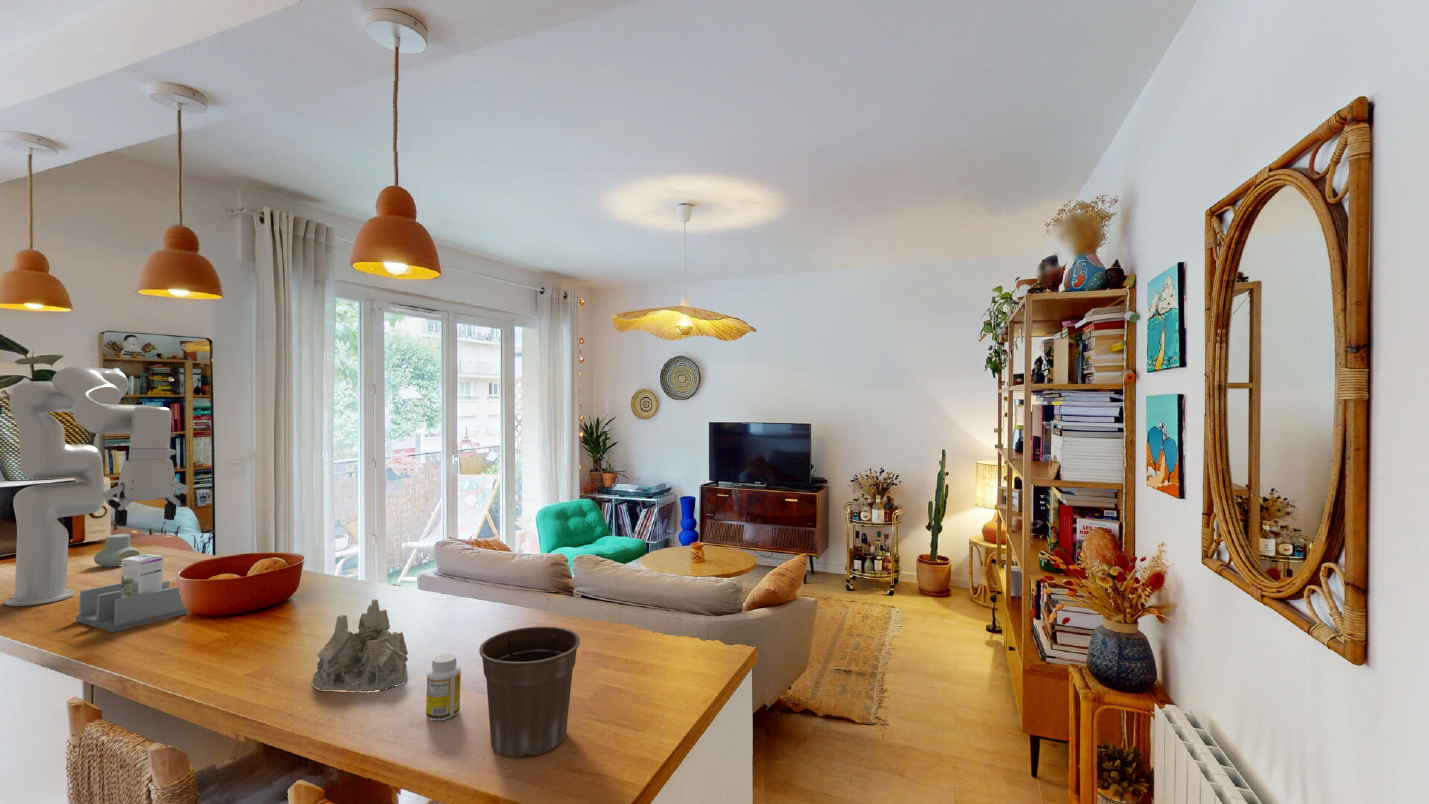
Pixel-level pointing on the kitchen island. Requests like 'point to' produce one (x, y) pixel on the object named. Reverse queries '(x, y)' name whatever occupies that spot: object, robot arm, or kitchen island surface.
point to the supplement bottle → (443, 688)
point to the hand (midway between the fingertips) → (145, 522)
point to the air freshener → (115, 551)
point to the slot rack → (127, 607)
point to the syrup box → (141, 574)
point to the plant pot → (529, 688)
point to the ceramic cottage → (363, 655)
